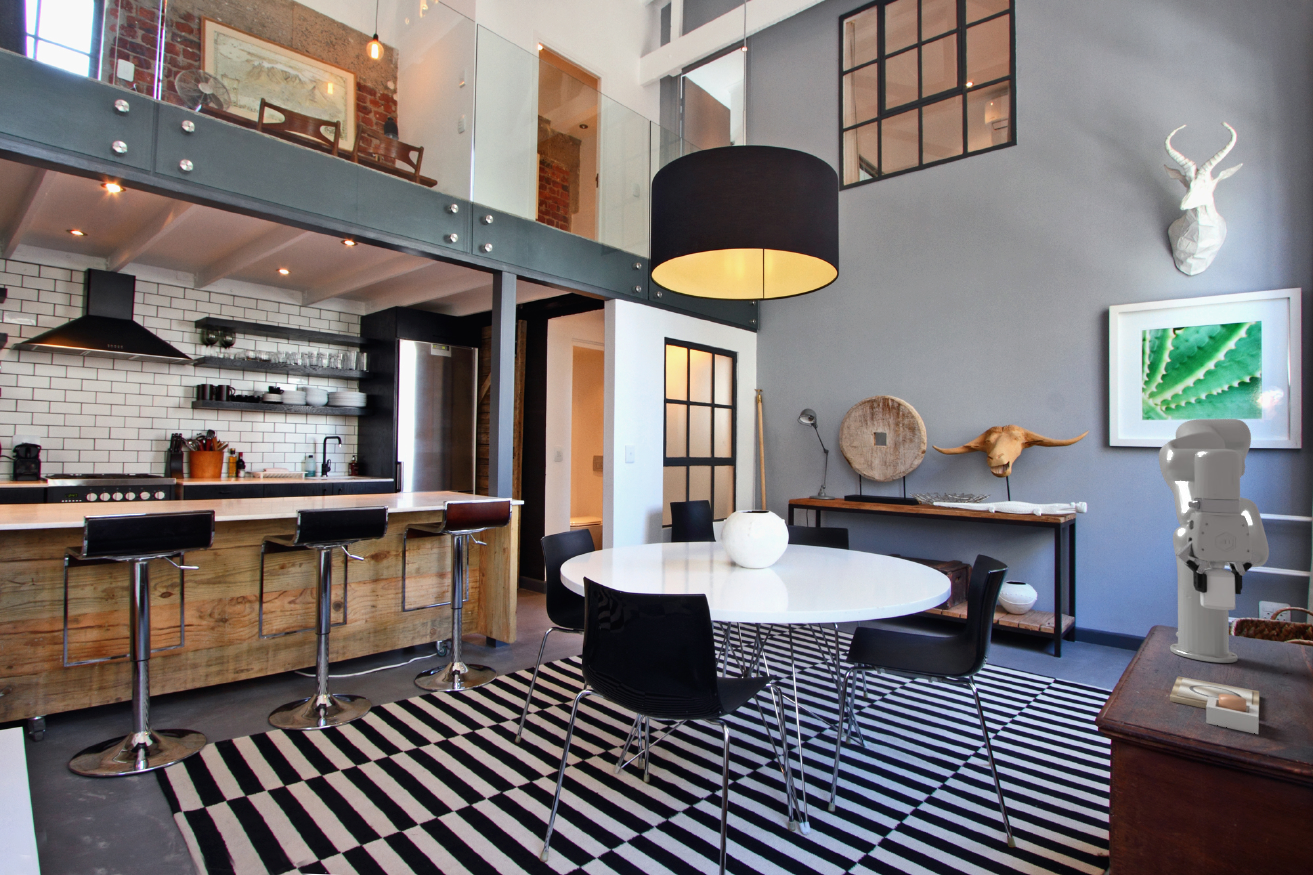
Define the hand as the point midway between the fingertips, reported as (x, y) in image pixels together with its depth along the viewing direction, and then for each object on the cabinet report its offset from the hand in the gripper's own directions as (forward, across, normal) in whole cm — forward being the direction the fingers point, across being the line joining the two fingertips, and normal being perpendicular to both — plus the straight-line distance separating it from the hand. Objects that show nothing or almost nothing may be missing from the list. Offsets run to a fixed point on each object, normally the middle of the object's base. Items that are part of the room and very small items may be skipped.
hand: (1217, 591), depth 144 cm
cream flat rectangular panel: (+19, -6, -11) cm, 23 cm away
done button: (+17, -11, -24) cm, 32 cm away
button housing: (+19, -11, -24) cm, 33 cm away
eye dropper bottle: (+4, 0, 0) cm, 4 cm away
